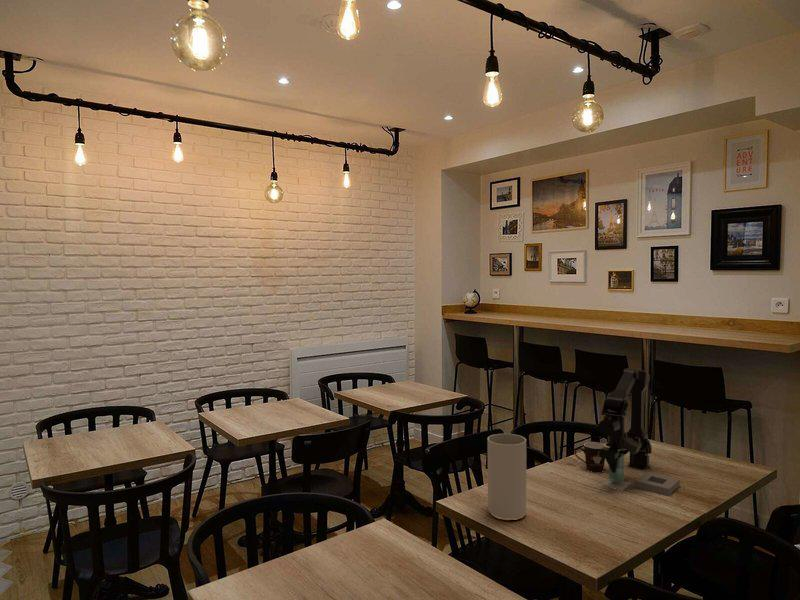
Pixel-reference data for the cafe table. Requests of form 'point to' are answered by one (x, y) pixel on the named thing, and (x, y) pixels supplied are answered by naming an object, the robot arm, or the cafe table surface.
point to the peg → (618, 470)
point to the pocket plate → (657, 483)
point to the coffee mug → (593, 456)
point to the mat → (616, 484)
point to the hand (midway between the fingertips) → (616, 471)
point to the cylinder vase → (507, 475)
